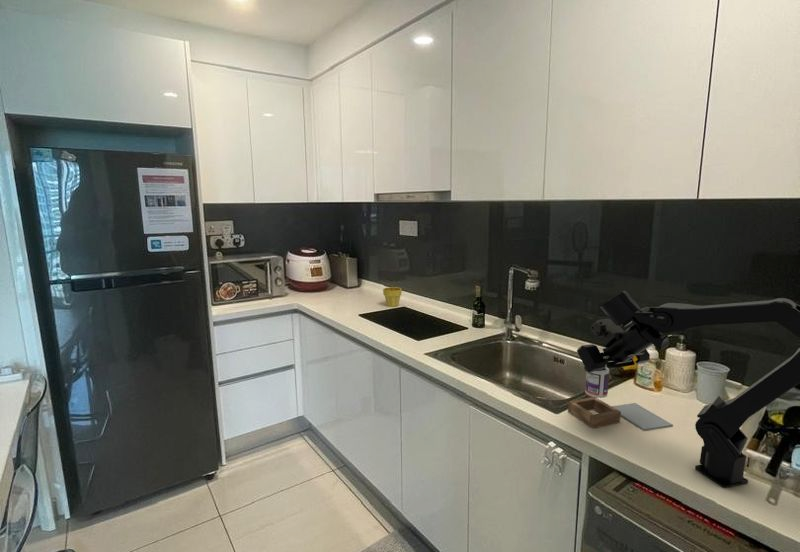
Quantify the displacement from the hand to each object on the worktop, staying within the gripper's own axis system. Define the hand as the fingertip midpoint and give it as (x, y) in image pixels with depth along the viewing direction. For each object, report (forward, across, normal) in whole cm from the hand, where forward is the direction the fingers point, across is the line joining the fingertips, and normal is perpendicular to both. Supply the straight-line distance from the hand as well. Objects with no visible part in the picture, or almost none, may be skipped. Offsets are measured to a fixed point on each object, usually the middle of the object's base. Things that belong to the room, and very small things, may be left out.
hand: (593, 368), depth 107 cm
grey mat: (+6, -12, +13) cm, 18 cm away
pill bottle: (+4, 0, +6) cm, 7 cm away
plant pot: (+103, +12, -86) cm, 135 cm away
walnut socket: (+9, 0, +10) cm, 13 cm away
